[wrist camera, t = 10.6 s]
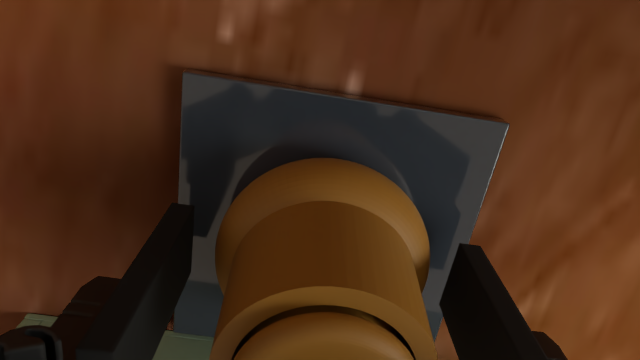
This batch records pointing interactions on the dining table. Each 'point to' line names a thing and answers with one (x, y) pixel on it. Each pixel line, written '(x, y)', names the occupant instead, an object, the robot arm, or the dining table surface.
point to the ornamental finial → (322, 268)
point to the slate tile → (324, 142)
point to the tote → (174, 348)
